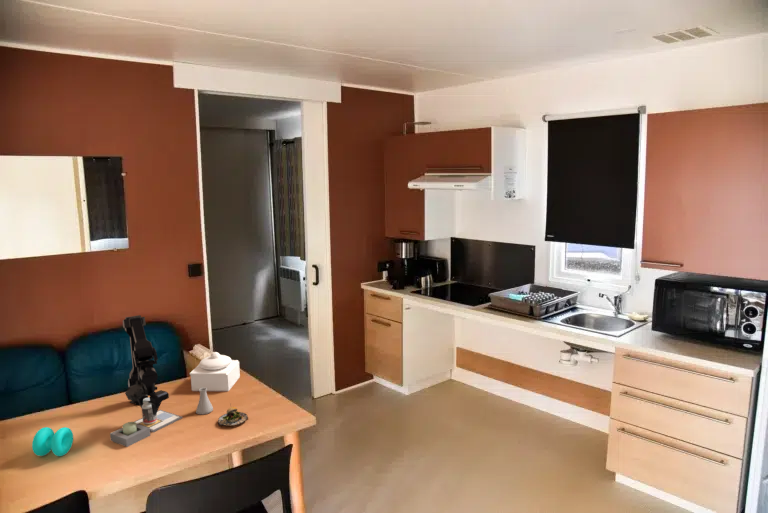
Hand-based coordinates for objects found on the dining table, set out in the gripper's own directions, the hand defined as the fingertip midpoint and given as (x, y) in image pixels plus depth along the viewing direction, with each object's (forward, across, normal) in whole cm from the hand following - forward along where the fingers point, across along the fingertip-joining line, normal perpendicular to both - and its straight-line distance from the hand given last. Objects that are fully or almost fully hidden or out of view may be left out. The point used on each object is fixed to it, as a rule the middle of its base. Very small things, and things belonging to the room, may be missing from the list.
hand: (149, 412), depth 216 cm
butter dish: (+6, -8, +42) cm, 44 cm away
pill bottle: (+4, 0, 0) cm, 4 cm away
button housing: (+5, +3, -11) cm, 12 cm away
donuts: (+5, -11, -32) cm, 34 cm away
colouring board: (+5, 0, +3) cm, 6 cm away
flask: (+5, +10, +19) cm, 22 cm away
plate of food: (+6, +28, +18) cm, 34 cm away
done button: (+3, +3, -11) cm, 12 cm away
